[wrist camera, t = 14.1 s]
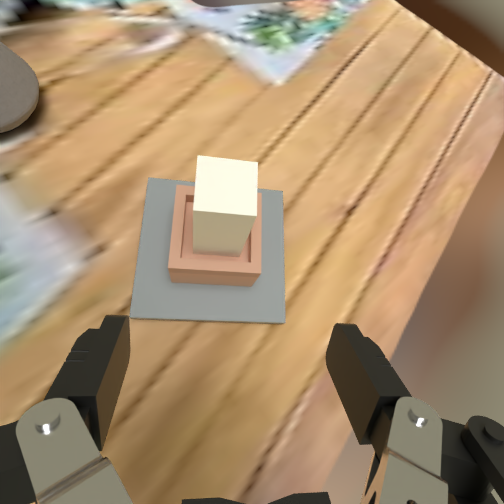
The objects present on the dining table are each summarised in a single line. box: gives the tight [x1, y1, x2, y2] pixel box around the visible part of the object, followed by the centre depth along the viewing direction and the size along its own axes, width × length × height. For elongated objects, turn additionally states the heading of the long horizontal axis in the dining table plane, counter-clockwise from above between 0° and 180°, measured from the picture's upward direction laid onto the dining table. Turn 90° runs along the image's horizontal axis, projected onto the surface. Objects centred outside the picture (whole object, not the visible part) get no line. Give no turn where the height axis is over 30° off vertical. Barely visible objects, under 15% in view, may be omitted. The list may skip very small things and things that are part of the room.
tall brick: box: [193, 155, 258, 257], centre depth 28 cm, size 4×4×10 cm
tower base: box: [129, 178, 285, 324], centre depth 34 cm, size 16×16×7 cm
